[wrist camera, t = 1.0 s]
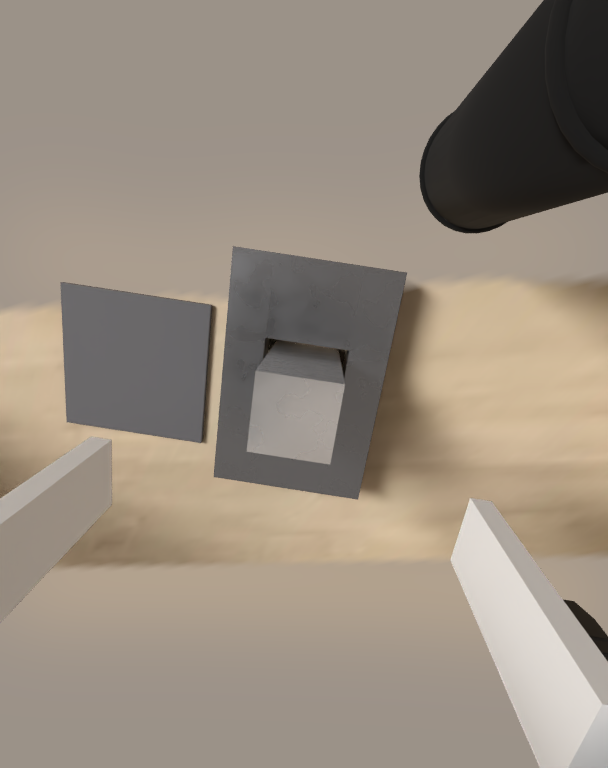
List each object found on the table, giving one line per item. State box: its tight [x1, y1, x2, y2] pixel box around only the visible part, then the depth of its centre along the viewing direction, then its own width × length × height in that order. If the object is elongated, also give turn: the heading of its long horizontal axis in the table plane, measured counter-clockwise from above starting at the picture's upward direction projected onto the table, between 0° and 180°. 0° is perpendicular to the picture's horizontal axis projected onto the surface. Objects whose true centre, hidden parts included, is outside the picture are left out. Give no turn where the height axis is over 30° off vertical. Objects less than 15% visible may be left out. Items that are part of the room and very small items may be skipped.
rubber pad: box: [61, 282, 212, 443], centre depth 31 cm, size 12×12×1 cm
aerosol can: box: [420, 0, 608, 233], centre depth 16 cm, size 8×8×20 cm
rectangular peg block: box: [247, 340, 345, 464], centre depth 26 cm, size 5×5×10 cm
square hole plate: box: [214, 247, 407, 499], centre depth 29 cm, size 12×18×3 cm, turn 172°
